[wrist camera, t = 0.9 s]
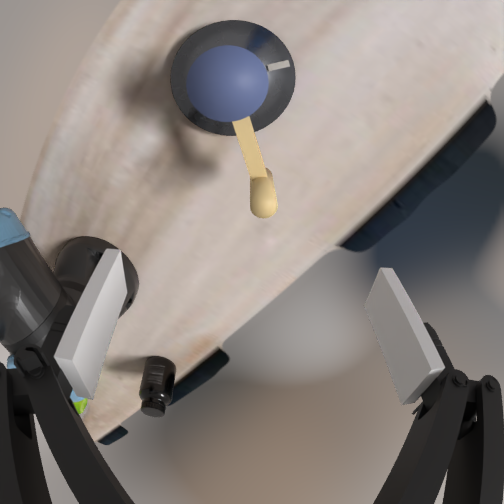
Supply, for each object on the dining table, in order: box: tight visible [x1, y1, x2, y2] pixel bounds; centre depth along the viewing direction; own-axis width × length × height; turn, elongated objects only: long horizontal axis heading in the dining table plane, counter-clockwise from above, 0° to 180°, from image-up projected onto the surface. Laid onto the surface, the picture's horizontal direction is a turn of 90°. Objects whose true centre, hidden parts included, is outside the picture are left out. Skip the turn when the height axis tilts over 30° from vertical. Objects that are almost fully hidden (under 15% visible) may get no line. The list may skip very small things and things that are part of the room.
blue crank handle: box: [186, 45, 278, 218], centre depth 27 cm, size 16×7×7 cm, turn 16°
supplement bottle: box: [139, 357, 176, 417], centre depth 58 cm, size 7×7×12 cm
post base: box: [171, 20, 295, 136], centre depth 30 cm, size 14×14×6 cm
